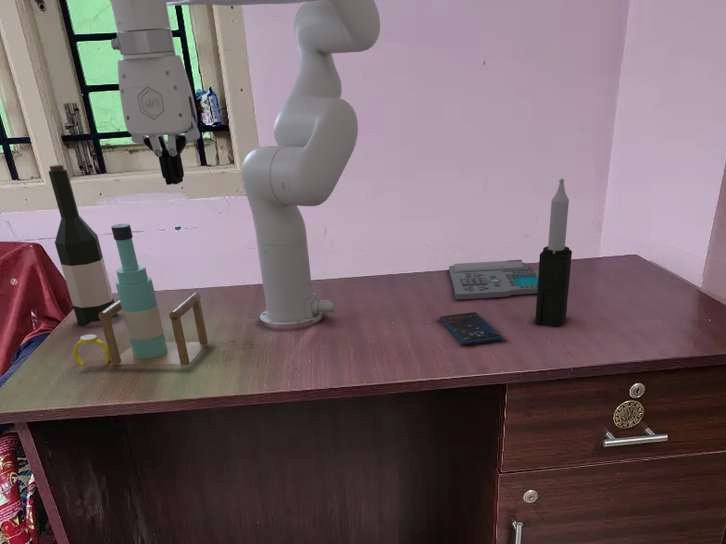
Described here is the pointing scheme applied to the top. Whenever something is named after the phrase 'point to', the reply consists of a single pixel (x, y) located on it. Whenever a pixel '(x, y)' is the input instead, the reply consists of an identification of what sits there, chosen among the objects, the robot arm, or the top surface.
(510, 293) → the office telephone
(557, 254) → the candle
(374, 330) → the top surface
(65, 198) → the wine bottle
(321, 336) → the top surface
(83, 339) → the watch
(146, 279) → the bottle
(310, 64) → the robot arm
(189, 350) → the caddy
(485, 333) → the smartphone
